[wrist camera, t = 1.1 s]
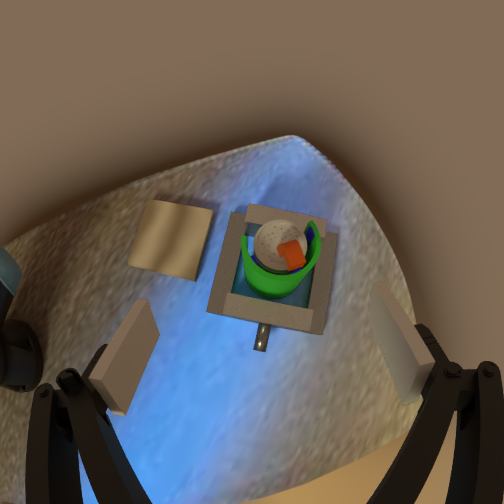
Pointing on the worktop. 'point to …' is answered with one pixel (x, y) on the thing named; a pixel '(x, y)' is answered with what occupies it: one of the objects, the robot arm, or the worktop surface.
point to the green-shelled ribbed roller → (280, 257)
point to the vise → (264, 310)
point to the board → (171, 239)
